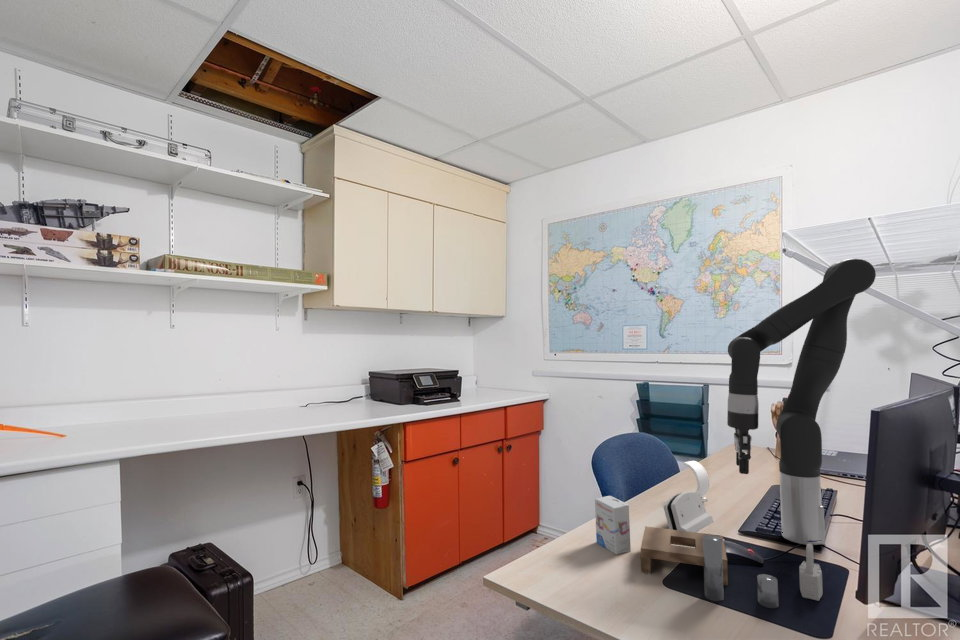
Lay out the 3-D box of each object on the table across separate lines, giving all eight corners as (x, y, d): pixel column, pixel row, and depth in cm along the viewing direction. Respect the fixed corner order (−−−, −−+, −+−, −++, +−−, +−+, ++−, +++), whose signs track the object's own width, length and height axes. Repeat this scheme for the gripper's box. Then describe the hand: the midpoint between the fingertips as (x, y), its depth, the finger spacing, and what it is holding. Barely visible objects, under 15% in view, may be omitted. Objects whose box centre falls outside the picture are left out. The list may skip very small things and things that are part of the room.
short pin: (776, 600, 102) (776, 575, 103) (779, 609, 99) (779, 584, 99) (757, 597, 104) (756, 573, 104) (759, 606, 101) (758, 581, 101)
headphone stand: (694, 496, 168) (693, 460, 168) (710, 501, 163) (708, 464, 163) (685, 498, 166) (683, 462, 166) (699, 504, 161) (698, 466, 161)
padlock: (822, 602, 101) (820, 552, 102) (798, 597, 104) (797, 548, 104) (823, 588, 107) (821, 540, 107) (800, 582, 110) (799, 536, 110)
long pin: (723, 594, 105) (721, 536, 106) (724, 602, 102) (722, 543, 102) (704, 591, 107) (702, 534, 107) (705, 599, 103) (703, 540, 104)
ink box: (594, 542, 133) (593, 497, 133) (610, 539, 135) (609, 494, 135) (615, 555, 125) (614, 507, 125) (631, 551, 127) (630, 504, 127)
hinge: (687, 537, 135) (674, 499, 138) (671, 538, 138) (659, 501, 141) (714, 521, 146) (701, 486, 149) (699, 522, 149) (687, 488, 152)
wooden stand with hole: (723, 558, 122) (722, 535, 122) (727, 585, 109) (727, 560, 109) (645, 547, 129) (645, 526, 129) (641, 572, 116) (640, 548, 116)
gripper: (762, 415, 129) (761, 478, 129) (755, 407, 142) (754, 464, 142) (729, 412, 132) (728, 474, 132) (725, 405, 145) (725, 461, 145)
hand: (742, 469), depth 137 cm, fingers open, 8 cm apart
